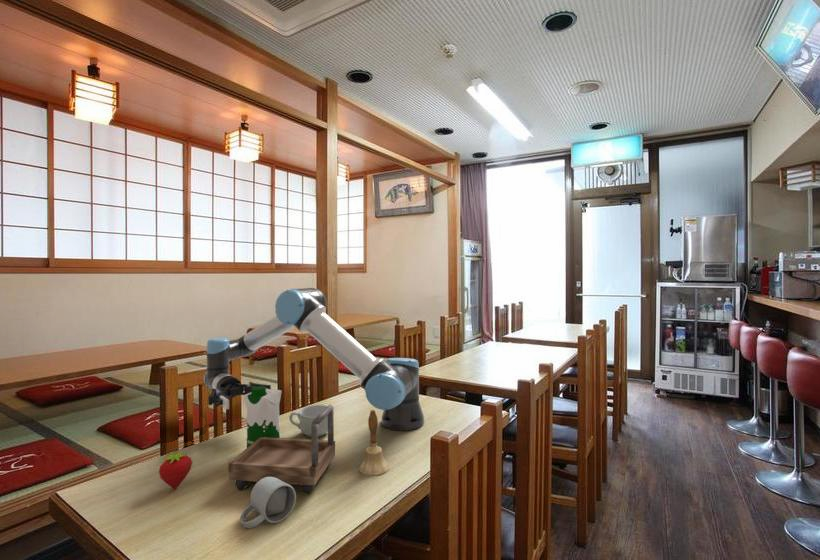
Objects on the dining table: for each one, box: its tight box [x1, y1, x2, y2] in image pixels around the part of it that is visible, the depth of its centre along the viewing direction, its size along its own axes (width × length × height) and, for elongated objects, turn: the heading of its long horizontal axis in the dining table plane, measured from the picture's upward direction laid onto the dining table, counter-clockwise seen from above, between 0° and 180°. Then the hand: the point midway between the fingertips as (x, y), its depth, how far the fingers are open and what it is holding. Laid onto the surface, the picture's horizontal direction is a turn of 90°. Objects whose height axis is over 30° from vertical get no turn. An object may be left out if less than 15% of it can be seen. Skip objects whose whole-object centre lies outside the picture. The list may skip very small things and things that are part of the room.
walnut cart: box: [227, 404, 336, 495], centre depth 106 cm, size 22×16×18 cm
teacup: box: [288, 404, 328, 438], centre depth 135 cm, size 14×11×8 cm
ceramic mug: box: [239, 477, 297, 529], centre depth 89 cm, size 11×8×8 cm
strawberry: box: [158, 449, 193, 489], centre depth 101 cm, size 6×8×10 cm
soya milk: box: [243, 386, 282, 448], centre depth 121 cm, size 9×9×20 cm
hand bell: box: [358, 409, 390, 477], centre depth 111 cm, size 8×8×16 cm
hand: (250, 400), depth 128 cm, fingers open, 13 cm apart
